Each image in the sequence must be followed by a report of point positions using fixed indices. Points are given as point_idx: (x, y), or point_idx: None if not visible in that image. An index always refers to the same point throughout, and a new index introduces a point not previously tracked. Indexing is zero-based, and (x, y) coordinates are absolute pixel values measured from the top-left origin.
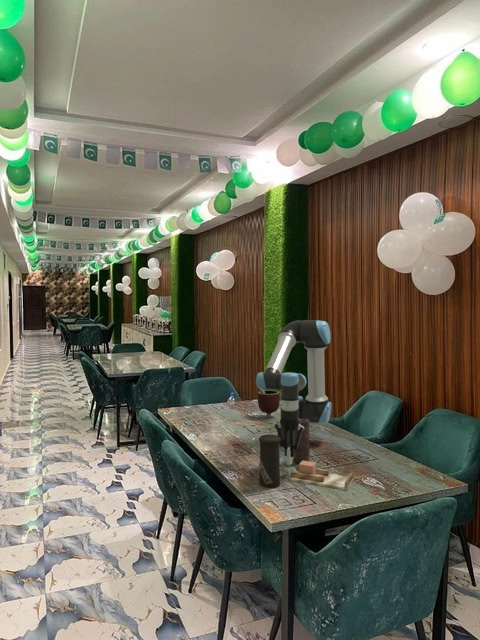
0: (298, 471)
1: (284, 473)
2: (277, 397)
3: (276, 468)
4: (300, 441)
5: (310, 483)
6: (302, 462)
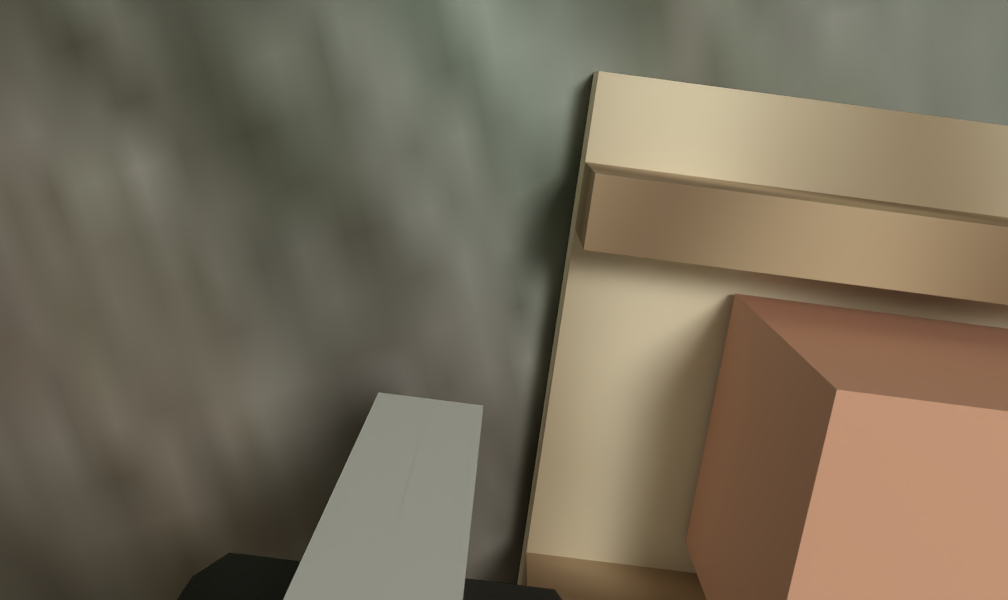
0: (631, 261)
1: (324, 318)
2: None
3: None
4: None
5: None
6: (851, 572)
